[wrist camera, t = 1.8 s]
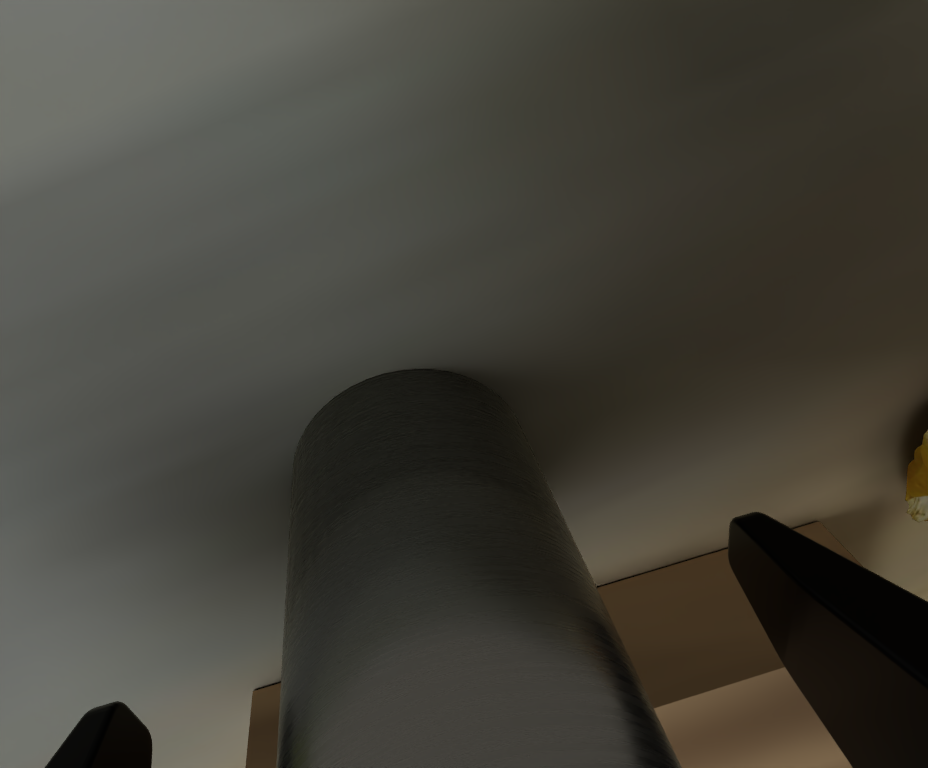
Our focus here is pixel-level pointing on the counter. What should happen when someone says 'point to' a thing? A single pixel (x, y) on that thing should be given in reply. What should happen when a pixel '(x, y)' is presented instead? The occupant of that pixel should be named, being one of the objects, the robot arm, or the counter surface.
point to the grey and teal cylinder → (444, 597)
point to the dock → (686, 671)
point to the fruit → (918, 483)
